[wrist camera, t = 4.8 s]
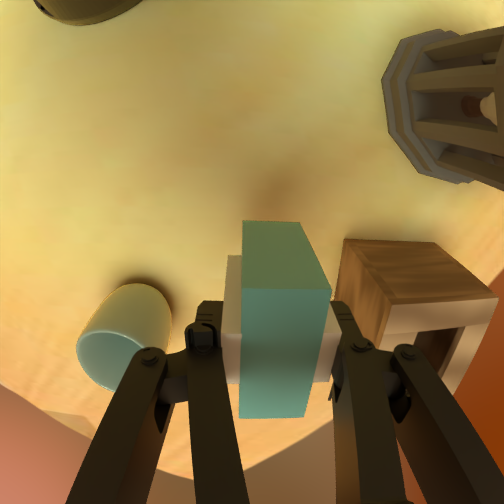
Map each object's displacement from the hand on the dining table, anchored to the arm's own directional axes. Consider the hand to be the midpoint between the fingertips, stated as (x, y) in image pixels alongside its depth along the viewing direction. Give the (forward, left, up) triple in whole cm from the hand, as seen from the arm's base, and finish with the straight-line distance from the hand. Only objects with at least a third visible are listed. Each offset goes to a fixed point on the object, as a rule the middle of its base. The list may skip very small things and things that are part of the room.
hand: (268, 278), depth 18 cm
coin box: (+9, +14, -13) cm, 21 cm away
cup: (+10, -12, -13) cm, 21 cm away
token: (0, 0, -1) cm, 1 cm away
